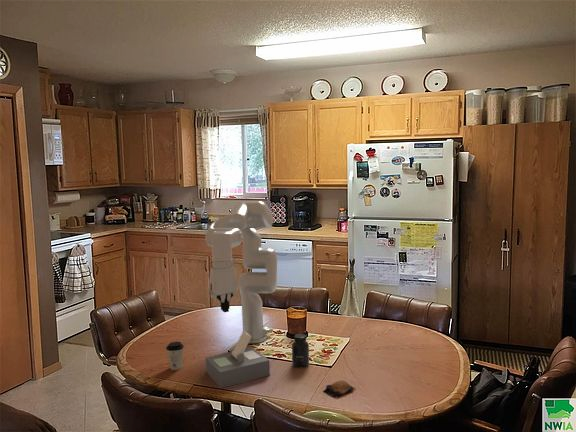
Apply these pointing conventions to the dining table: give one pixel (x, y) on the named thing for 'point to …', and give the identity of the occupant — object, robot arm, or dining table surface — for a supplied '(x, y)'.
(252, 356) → the switch box
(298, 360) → the supplement bottle
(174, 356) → the coffee cup
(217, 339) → the dining table surface
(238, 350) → the switch lever
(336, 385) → the bread roll
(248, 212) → the robot arm
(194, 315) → the dining table surface
